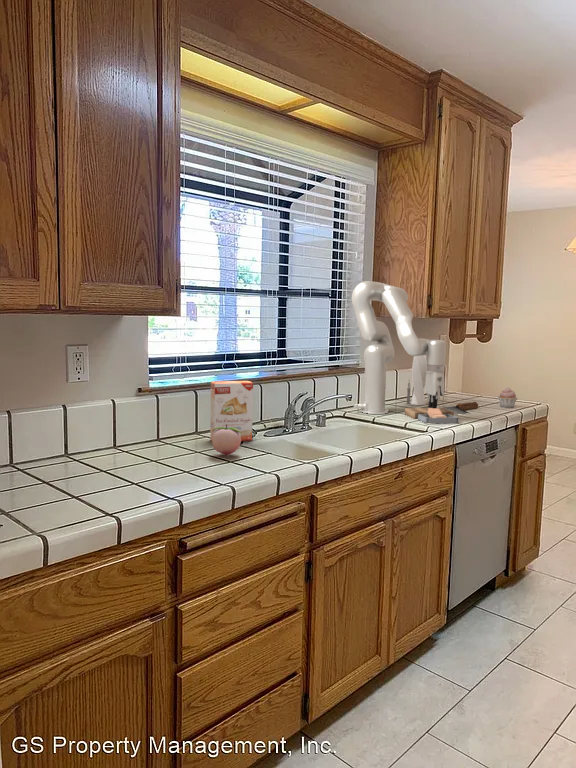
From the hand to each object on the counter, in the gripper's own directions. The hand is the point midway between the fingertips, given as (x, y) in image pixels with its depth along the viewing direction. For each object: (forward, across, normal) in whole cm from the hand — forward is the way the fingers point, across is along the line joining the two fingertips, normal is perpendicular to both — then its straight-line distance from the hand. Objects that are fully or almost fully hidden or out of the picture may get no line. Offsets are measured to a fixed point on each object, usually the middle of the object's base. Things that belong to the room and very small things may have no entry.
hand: (432, 410), depth 248 cm
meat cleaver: (+4, +16, -22) cm, 27 cm away
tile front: (0, -7, 0) cm, 7 cm away
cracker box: (+5, -30, +90) cm, 95 cm away
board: (+4, +6, -1) cm, 7 cm away
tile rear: (+2, -2, 0) cm, 3 cm away
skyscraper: (+4, +39, -10) cm, 40 cm away
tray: (+4, -5, 0) cm, 7 cm away
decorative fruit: (+5, -52, +93) cm, 107 cm away
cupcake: (+4, +28, -53) cm, 60 cm away
